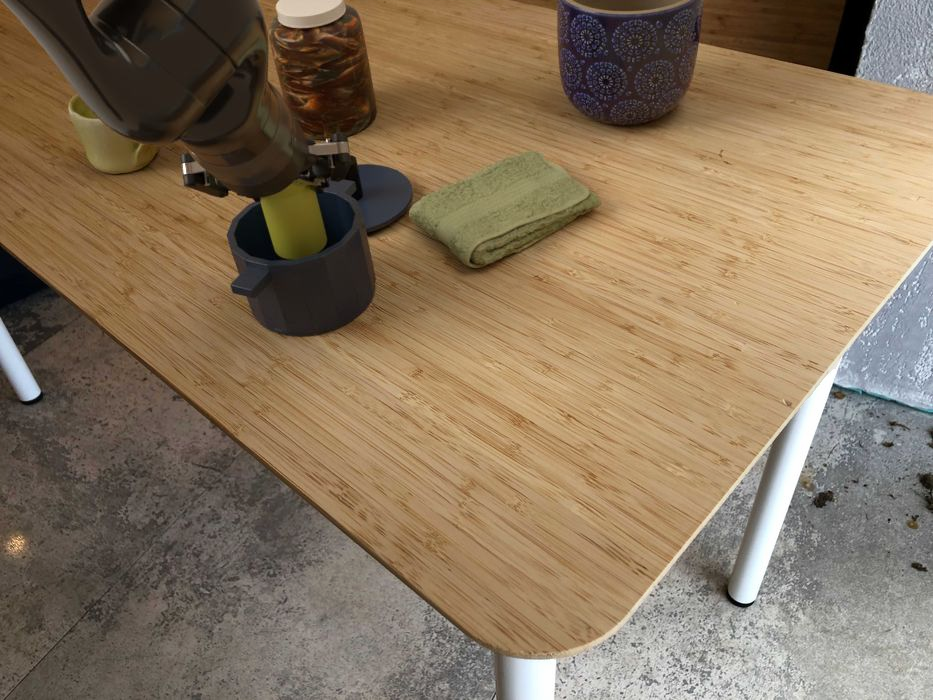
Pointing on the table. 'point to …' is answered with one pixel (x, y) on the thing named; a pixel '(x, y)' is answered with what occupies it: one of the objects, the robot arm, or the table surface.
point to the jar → (323, 66)
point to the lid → (379, 193)
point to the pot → (306, 269)
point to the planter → (627, 56)
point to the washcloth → (503, 208)
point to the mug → (107, 142)
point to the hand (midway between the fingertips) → (288, 186)
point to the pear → (294, 222)
